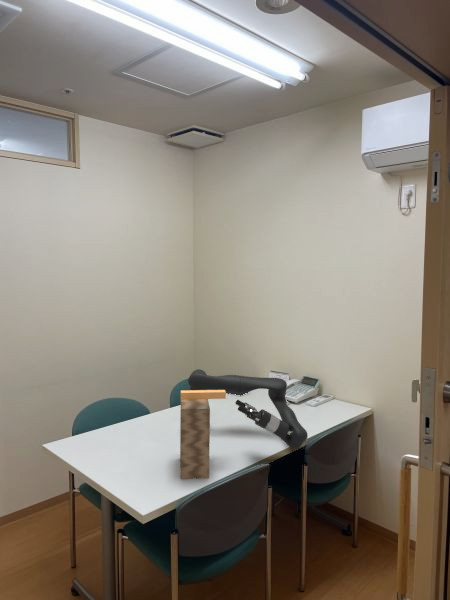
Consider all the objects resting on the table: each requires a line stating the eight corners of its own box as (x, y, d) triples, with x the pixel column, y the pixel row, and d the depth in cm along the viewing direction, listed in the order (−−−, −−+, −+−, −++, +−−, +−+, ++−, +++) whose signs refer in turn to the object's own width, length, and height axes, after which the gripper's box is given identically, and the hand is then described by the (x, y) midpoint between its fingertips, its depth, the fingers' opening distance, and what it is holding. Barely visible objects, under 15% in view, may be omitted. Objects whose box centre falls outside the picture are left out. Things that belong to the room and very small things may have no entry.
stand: (180, 479, 187) (181, 409, 184) (180, 458, 206) (180, 394, 204) (209, 478, 188) (209, 408, 185) (206, 457, 208) (206, 394, 205)
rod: (180, 399, 197) (180, 392, 197) (180, 397, 201) (180, 390, 200) (225, 398, 199) (225, 392, 199) (224, 396, 203) (224, 389, 202)
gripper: (268, 409, 211) (239, 392, 209) (274, 419, 197) (243, 402, 195) (260, 422, 211) (231, 406, 209) (266, 434, 197) (235, 416, 195)
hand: (237, 404), depth 202 cm, fingers open, 8 cm apart
